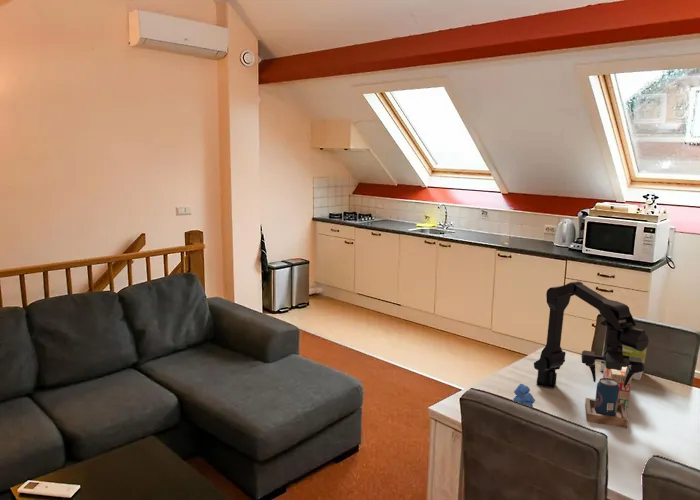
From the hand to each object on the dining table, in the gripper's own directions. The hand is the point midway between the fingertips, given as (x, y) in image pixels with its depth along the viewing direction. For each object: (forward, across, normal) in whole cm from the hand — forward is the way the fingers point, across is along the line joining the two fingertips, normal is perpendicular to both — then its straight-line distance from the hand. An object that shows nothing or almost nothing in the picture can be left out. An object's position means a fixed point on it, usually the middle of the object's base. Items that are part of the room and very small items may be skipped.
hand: (609, 384), depth 185 cm
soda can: (+11, 0, 0) cm, 11 cm away
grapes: (+12, -26, -11) cm, 31 cm away
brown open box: (+12, 0, 0) cm, 12 cm away
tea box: (+12, +9, +43) cm, 46 cm away
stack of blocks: (+12, +4, +20) cm, 24 cm away
